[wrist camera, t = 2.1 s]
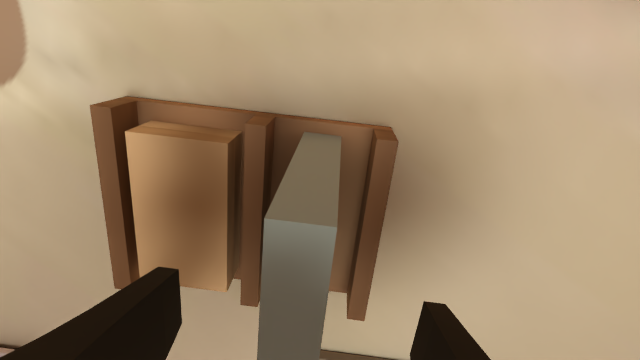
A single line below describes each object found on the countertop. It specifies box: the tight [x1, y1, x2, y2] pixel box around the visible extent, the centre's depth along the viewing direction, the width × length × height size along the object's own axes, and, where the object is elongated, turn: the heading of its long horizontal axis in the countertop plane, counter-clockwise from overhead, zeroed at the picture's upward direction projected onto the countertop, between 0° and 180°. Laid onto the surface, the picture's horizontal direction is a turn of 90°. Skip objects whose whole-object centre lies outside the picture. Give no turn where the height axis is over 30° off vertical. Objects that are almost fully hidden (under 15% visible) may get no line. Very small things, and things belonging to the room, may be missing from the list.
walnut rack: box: [90, 96, 398, 321], centre depth 16 cm, size 12×9×2 cm
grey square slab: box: [257, 132, 341, 360], centre depth 13 cm, size 2×8×8 cm, turn 174°
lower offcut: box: [139, 121, 242, 278], centre depth 16 cm, size 4×7×1 cm, turn 174°
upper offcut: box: [125, 126, 235, 292], centre depth 15 cm, size 4×7×1 cm, turn 174°
